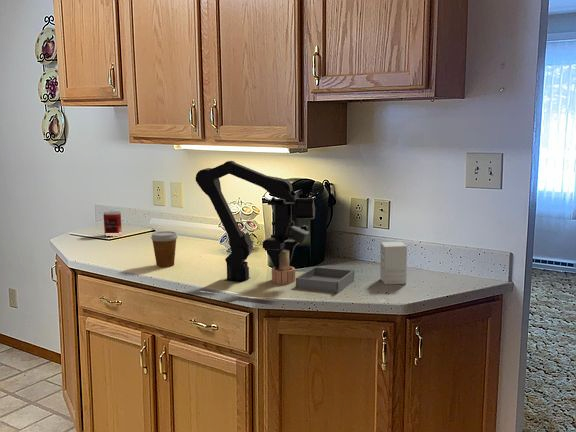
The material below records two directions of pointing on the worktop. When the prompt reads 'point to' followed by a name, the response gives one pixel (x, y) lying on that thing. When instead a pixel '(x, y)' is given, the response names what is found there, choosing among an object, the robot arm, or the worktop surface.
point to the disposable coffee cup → (164, 248)
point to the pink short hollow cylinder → (283, 276)
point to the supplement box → (393, 263)
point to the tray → (325, 279)
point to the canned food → (112, 222)
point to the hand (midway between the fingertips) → (283, 265)
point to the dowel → (284, 261)
